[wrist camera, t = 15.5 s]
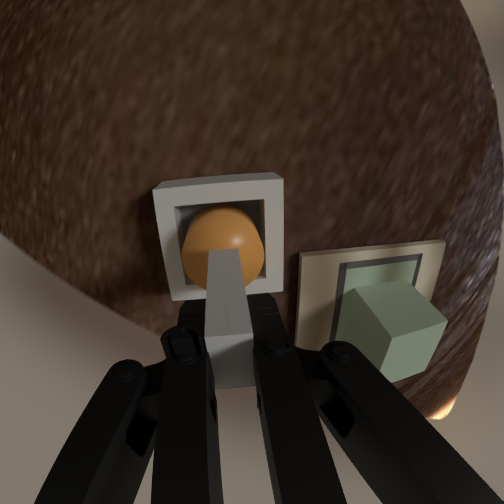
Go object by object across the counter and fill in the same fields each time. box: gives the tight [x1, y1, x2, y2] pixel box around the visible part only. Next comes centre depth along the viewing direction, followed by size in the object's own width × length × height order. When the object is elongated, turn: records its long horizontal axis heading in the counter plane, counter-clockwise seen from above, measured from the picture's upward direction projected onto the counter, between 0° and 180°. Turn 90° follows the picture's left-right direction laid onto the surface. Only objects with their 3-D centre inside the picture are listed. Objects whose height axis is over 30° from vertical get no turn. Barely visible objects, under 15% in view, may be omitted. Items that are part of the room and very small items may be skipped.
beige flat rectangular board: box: [294, 239, 446, 351], centre depth 25 cm, size 16×13×1 cm
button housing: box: [153, 172, 284, 301], centre depth 19 cm, size 8×8×3 cm
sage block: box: [344, 279, 448, 383], centre depth 21 cm, size 6×6×7 cm
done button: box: [182, 204, 264, 290], centre depth 17 cm, size 5×5×3 cm
